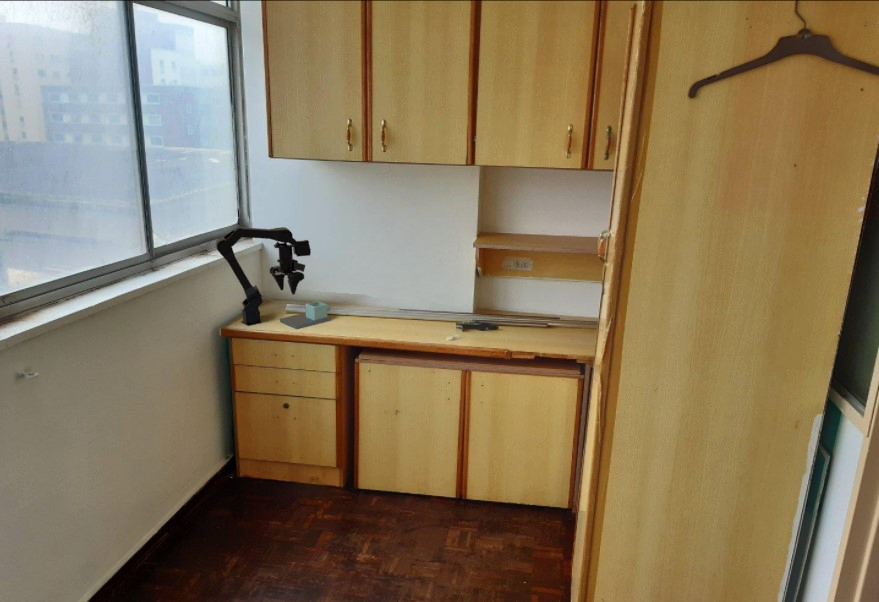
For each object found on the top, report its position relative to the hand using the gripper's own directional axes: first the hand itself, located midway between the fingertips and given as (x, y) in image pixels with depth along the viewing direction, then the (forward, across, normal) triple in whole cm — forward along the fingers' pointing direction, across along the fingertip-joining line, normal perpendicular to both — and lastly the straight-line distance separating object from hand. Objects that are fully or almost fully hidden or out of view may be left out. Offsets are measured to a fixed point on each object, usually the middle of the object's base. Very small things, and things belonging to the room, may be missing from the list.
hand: (287, 292), depth 280 cm
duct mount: (+12, -8, -3) cm, 15 cm away
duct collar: (+11, -10, -9) cm, 17 cm away
